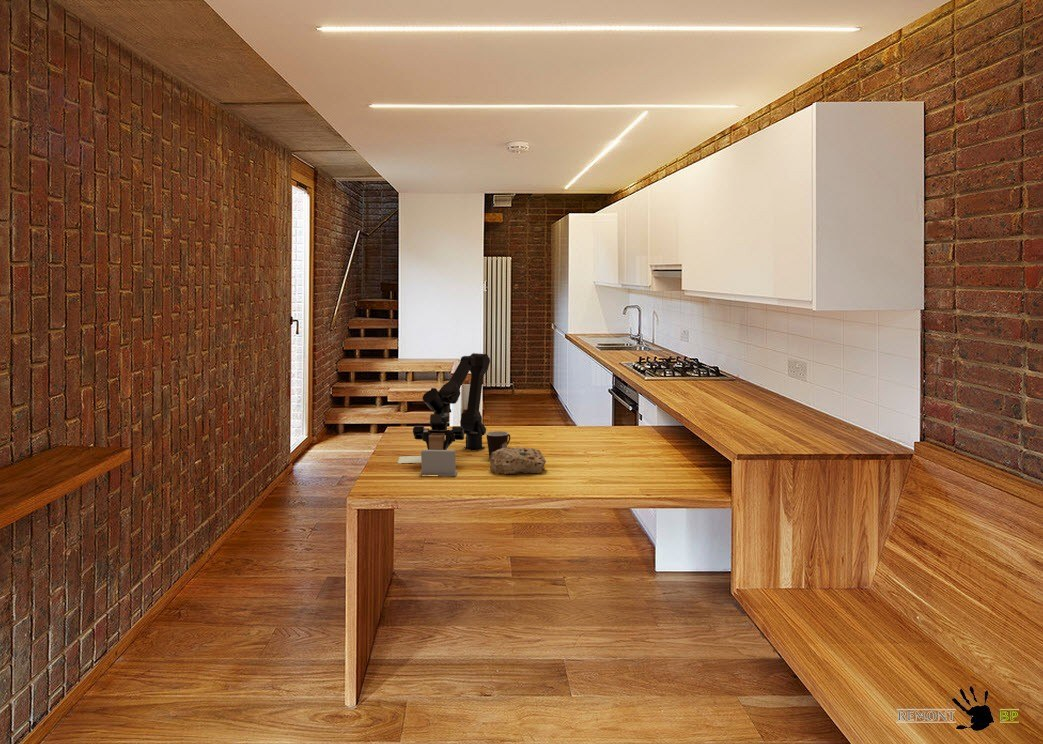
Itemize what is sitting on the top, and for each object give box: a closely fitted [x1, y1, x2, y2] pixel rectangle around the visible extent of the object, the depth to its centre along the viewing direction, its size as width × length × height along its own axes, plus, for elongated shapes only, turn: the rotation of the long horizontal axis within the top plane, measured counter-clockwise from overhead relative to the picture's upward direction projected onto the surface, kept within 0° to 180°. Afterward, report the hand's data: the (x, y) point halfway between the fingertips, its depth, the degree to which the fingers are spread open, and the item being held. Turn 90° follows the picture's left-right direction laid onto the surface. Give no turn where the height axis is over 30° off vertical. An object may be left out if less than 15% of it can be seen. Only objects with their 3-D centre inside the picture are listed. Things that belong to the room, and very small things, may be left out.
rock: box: [489, 446, 547, 475], centre depth 276 cm, size 21×14×10 cm
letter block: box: [429, 433, 446, 450], centre depth 278 cm, size 5×5×13 cm
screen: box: [419, 449, 458, 477], centre depth 271 cm, size 13×4×9 cm, turn 86°
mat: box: [397, 455, 421, 465], centre depth 292 cm, size 10×10×1 cm
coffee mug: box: [485, 430, 511, 460], centre depth 294 cm, size 12×9×10 cm
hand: (436, 452), depth 277 cm, fingers closed on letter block, 5 cm apart
